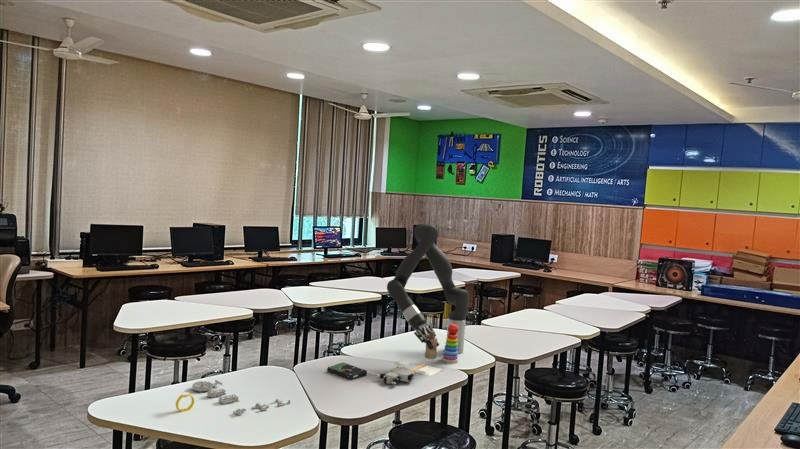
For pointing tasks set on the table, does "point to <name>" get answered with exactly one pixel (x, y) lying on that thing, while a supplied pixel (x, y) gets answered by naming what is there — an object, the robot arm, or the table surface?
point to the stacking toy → (451, 345)
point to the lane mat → (425, 370)
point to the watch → (182, 397)
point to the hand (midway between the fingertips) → (434, 347)
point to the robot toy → (397, 375)
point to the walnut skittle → (432, 353)
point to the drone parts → (205, 387)
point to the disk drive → (347, 371)
